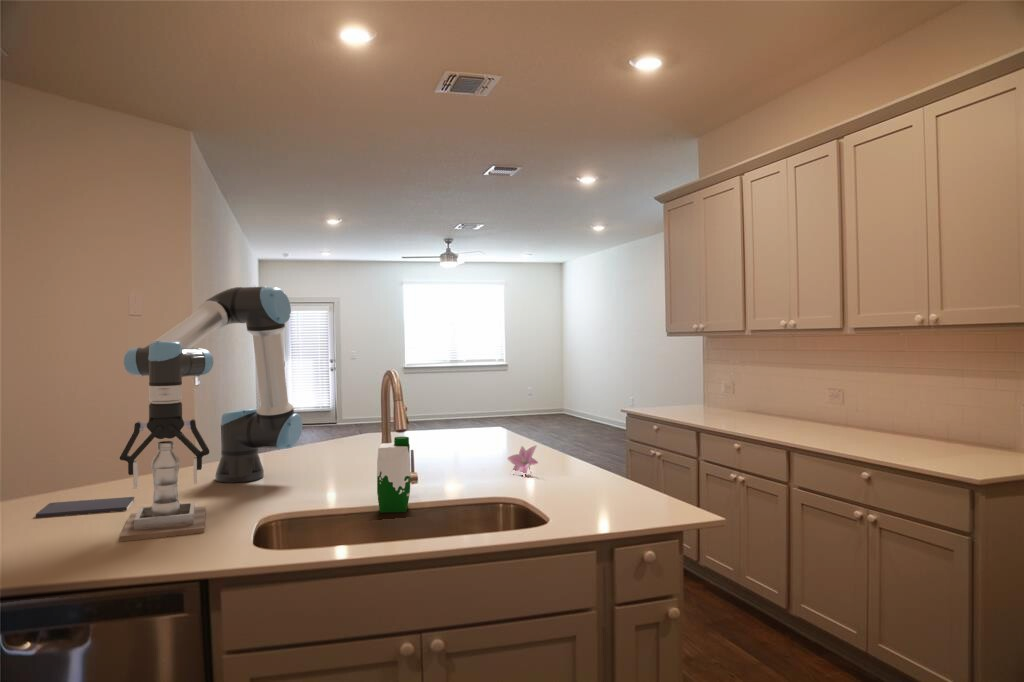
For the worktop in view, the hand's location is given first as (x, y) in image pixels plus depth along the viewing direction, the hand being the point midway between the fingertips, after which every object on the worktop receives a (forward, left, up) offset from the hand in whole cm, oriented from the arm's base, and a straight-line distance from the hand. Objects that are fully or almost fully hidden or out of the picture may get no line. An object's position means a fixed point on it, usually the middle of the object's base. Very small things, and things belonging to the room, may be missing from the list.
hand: (166, 485), depth 170 cm
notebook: (-27, -21, -11) cm, 36 cm away
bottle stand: (0, 0, -10) cm, 10 cm away
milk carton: (+8, +57, -10) cm, 58 cm away
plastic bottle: (0, 0, -9) cm, 9 cm away
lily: (-21, +110, -10) cm, 112 cm away
